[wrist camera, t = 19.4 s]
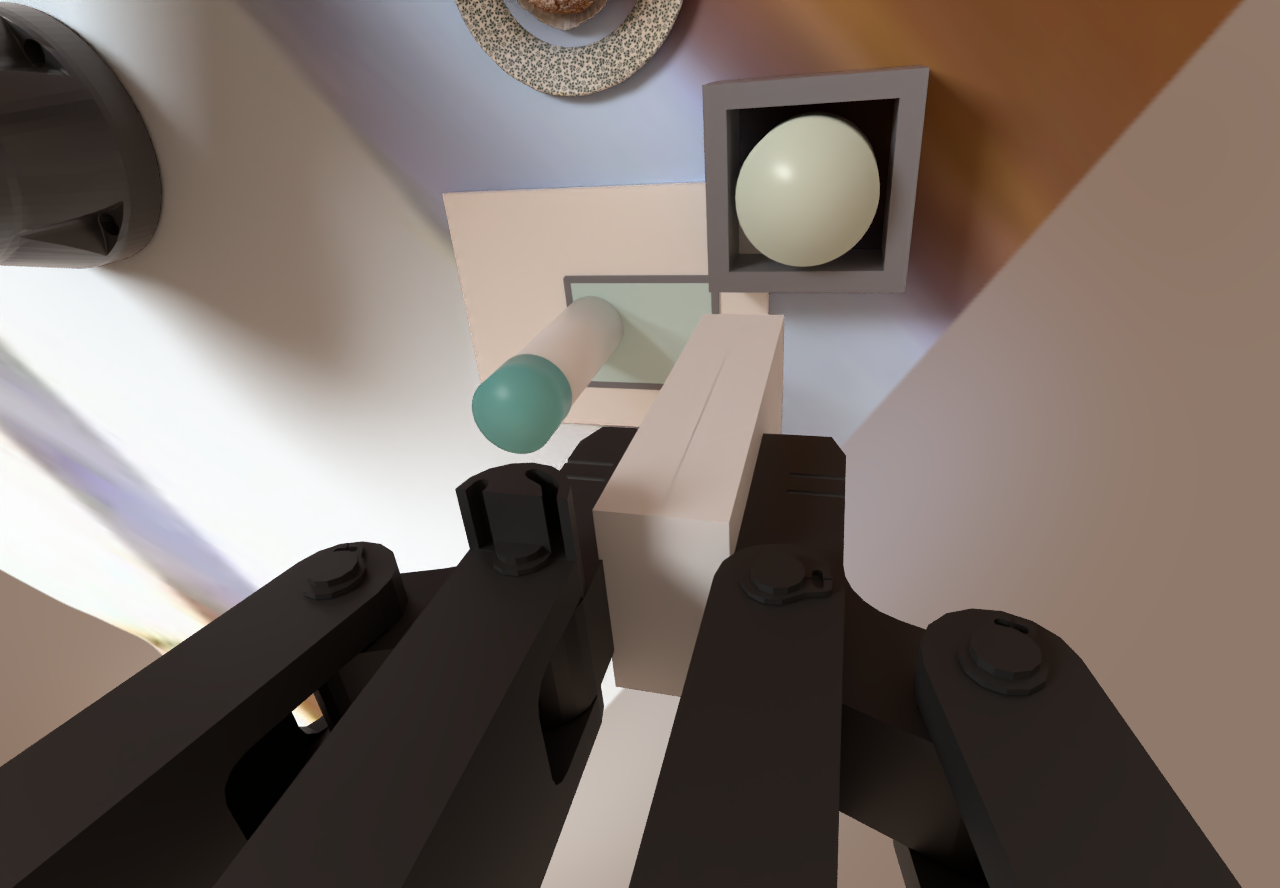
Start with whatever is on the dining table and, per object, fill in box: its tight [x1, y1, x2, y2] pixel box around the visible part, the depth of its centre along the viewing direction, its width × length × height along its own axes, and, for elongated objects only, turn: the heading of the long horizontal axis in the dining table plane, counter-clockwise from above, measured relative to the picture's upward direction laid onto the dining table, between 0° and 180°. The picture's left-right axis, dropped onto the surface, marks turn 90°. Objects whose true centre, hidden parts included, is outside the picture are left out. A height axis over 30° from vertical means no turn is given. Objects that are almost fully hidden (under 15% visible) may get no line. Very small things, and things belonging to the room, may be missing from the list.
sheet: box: [442, 182, 769, 427], centre depth 40 cm, size 18×14×1 cm
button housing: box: [702, 65, 930, 293], centre depth 32 cm, size 9×9×4 cm
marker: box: [472, 296, 624, 454], centre depth 35 cm, size 4×4×12 cm
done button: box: [735, 111, 880, 267], centre depth 31 cm, size 6×6×4 cm
